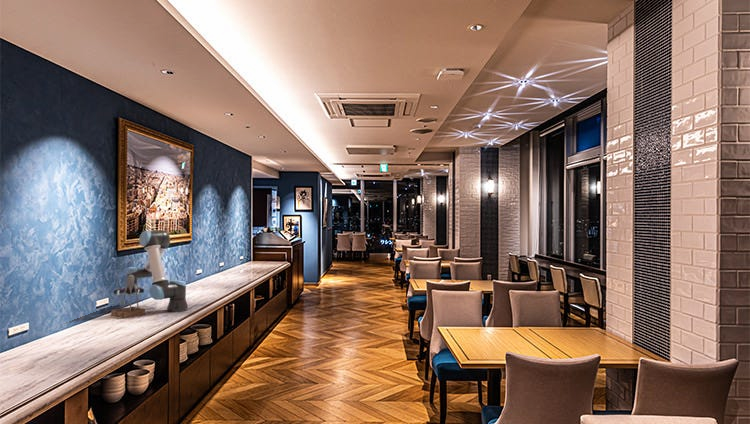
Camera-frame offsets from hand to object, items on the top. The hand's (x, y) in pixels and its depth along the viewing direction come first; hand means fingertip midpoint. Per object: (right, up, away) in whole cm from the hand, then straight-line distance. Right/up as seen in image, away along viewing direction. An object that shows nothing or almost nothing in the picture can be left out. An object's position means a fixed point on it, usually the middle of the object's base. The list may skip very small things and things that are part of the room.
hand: (128, 293), depth 351 cm
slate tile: (0, -16, +21) cm, 26 cm away
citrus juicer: (+1, -16, -1) cm, 16 cm away
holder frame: (+1, -16, -2) cm, 16 cm away
